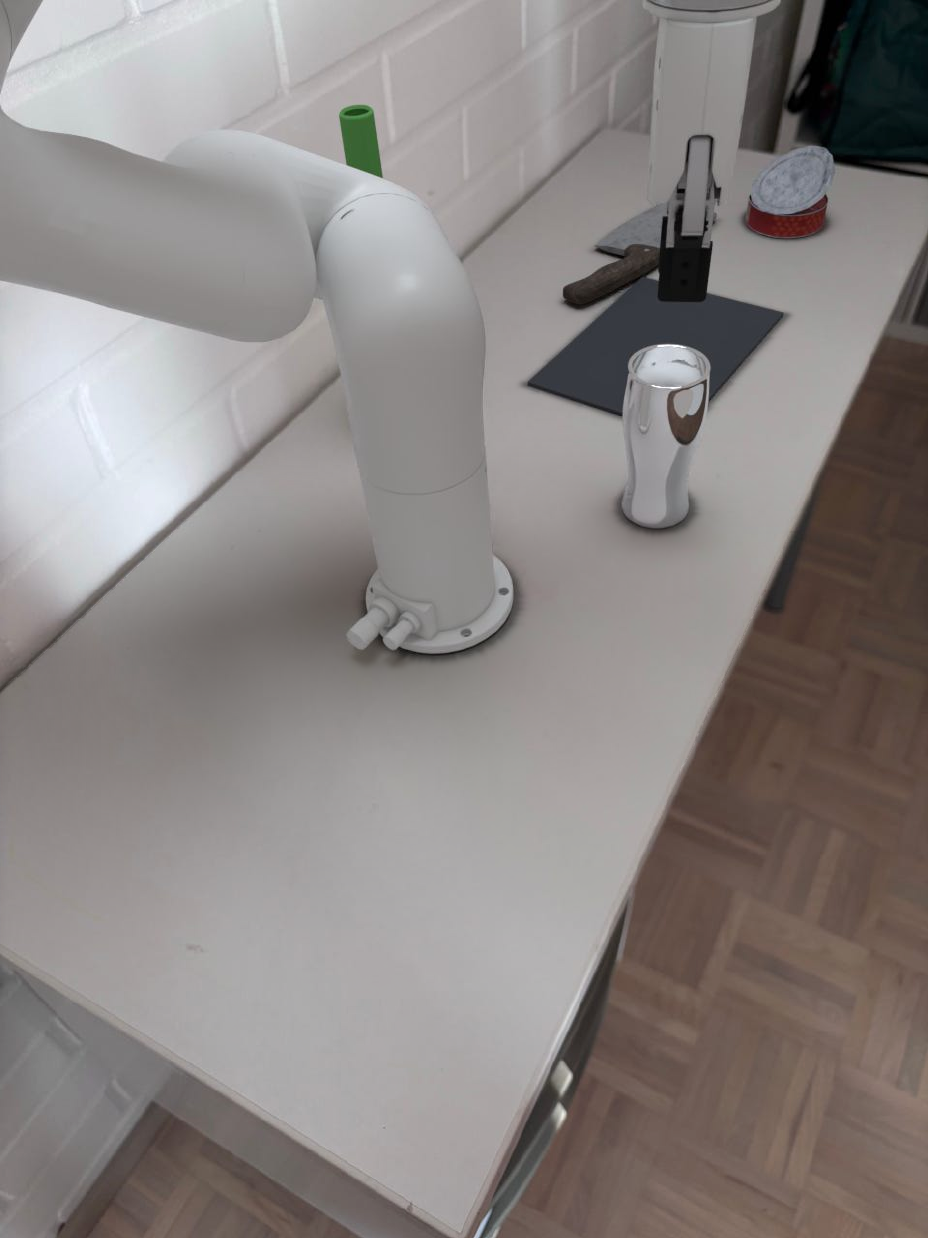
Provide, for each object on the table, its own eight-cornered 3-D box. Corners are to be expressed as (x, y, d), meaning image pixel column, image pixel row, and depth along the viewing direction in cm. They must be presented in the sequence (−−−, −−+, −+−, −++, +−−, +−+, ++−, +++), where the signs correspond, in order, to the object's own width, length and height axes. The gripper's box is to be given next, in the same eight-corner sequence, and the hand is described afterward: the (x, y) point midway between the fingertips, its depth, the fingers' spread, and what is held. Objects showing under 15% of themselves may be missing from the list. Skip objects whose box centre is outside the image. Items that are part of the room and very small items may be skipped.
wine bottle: (417, 384, 104) (380, 86, 82) (448, 419, 99) (417, 112, 77) (352, 406, 102) (296, 107, 80) (380, 443, 97) (328, 135, 75)
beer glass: (653, 543, 84) (668, 400, 73) (601, 504, 88) (607, 363, 77) (709, 509, 87) (731, 366, 76) (656, 473, 91) (669, 332, 80)
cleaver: (597, 314, 111) (597, 298, 109) (530, 292, 115) (529, 276, 114) (722, 219, 125) (724, 203, 124) (658, 203, 130) (660, 187, 129)
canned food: (816, 262, 125) (847, 211, 115) (740, 258, 125) (765, 207, 115) (811, 189, 128) (841, 134, 118) (737, 185, 128) (761, 130, 118)
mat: (679, 434, 94) (679, 431, 94) (527, 385, 102) (527, 381, 102) (783, 315, 108) (783, 312, 108) (642, 279, 116) (642, 276, 116)
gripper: (647, -64, 58) (629, 232, 71) (640, 20, 47) (621, 350, 60) (775, -70, 56) (732, 232, 70) (797, 15, 46) (742, 352, 59)
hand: (681, 284), depth 65 cm, fingers closed
